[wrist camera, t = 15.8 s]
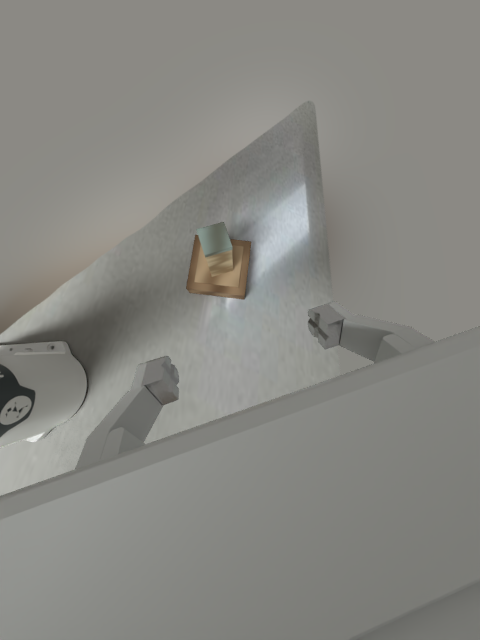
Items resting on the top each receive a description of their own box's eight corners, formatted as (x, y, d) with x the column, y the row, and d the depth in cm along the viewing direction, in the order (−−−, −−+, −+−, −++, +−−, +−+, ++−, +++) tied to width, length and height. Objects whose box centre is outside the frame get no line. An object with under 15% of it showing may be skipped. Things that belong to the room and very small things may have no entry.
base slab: (189, 292, 41) (185, 287, 38) (198, 242, 43) (195, 233, 40) (244, 299, 41) (244, 295, 38) (250, 249, 43) (251, 240, 40)
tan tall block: (211, 277, 38) (204, 255, 29) (205, 257, 39) (196, 229, 30) (233, 270, 39) (232, 246, 30) (226, 250, 39) (223, 221, 30)
